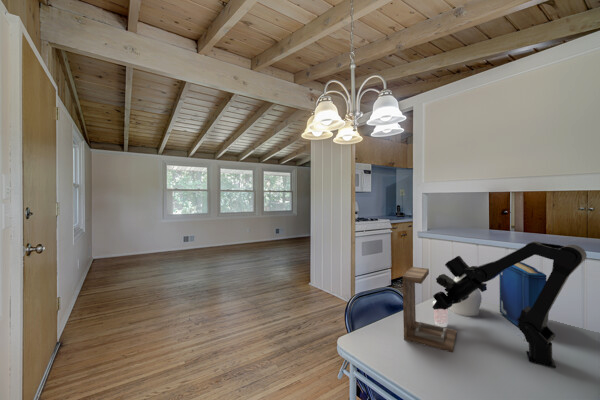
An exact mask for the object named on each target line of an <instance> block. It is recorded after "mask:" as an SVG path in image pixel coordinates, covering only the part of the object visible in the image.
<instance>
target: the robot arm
mask: <svg viewBox="0 0 600 400" xmlns="http://www.w3.org/2000/svg"><path fill="white" fill-rule="evenodd" d="M533 256H539V257H542V258H545V259H548V260H552V269H551V273H550V274H549V276H548V278H546V283H545V285H544V287H543V289H542V291H541V292H540V294H539V296H538V298H537V300H536V302H535V303H534V305H533V307H532V308H530V307H529V306H527V307H526V308H524V309H523V310H522V311H521V315H520V317H519V318H518V319H517V321H519V322H518V326H517V328H518V329H519V331H520V332H521V333H522V334H523V336H524V339H525V340H526V342H527V343H528V350H526V351H525V353H526V357H527V359H528V362H530V363H534V364H537V365H541V366H546V367H550V368H552V369H553V368H554V369H556V368H557V365H556V362H555V360H554V359H553V358H554V357H553V343H552V341H554V339H555V337H556V333H555V332H554V331H552V330H551V328H550V327H549V326H547V325H548V322H549V321H548V320H549V313H550V311H551V309H552V307H553V305H554V304H555V302H556V301H557V298H558V297H559V294H560V293H561V291H562V289H564V287H565V284H566V282H568V281H567V280H568V279H569V278H570V276H571V275H572V273H574V272H575V271H576V270H577V269H578V268H579V267H580V266H581V265H582V263H584V261H586V259H587V252H586V250H585V249H584V248H583V247H581V246H580V245H577V244H566V245H560V244H554V243H547V242H546V243H545V242H540V241H536V240H534V241H531V242H527V243H526V244H524V246H522V247H519V248H517V249H516V250H514V251H512V252H510V253H508V254H506V255H504V256H503V257H501V258H498V259H497V260H493V261H490V262H486V263H484V264H481V265H478V266H477V265H472V266H469V265H468V263H466V262H465V260H464V259H463V258H462V257H461V255H458V256H457V255H456V257H453V258H452V259H450V260H448V261H447V262H446V263H445V264H444V266H445V267H446V268H447V270H448V271H449V272H450V273H451V274H452V275H453V276H454V278H455V277H459V278H460V277H462V276H464V275H465V274H466V276H465V277H463V278H462V279H461V280H459V281H457V282H455V281H454V279H453V278H451V277H450V276H449V275H447V274H445V273H442V274H439V275H438V276H437V277H436V278H435V280H436V281H435V282H436V283H437V284H438V285H439V286H441V287H443V288H444V291H445V292H448V293H445V292H444V291H442V290H439V291H438V292H436V293H434V294H433V295H432V296H433V299H434V301H436V303H435V304H434V306H432V309H433V311H434V310H435V309H444V310H446V309H448V310H449V308H450V307H451V306H452V304H456V303H460V302H461V300H462V301H464V300H466V299H467V298H469V295H470V294H471V293H472V292H474V291H475V290H477V289H479V290H480V293H483V292H485V291H487V290H488V289H487V285H488V284H487V282H490V281H492V280H494V279H495V278H496V277H499V274H500V273H501V272H503V271H504V270H505V269H506V268H509V267H511V266H513V265H515V264H517V263H519V262H523V261H525V260H527V259H529V258H532V257H533Z"/></svg>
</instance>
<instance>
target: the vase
mask: <svg viewBox="0 0 600 400" xmlns="http://www.w3.org/2000/svg"><path fill="white" fill-rule="evenodd" d="M465 276H466V274H465V275H464V276H462V277H460V278H459V277H455V276H454V279H453V280H454V281H455V282H457V281H459V280H461V279H462V278H463V277H465ZM445 292H446V291H445ZM446 293H448V292H446ZM446 293H445V294H446ZM482 299H483V298H482V292H481V291H480V289H479V288H478V289H477V290H475V291H474V292H472V293H471V294H470V295H469V298H467V299H466V300H464V301H462V300H461V302H460V303H456V304H452V306H451V307H450V308H448V311H449V310H450V312H452V313H454V314H457V315H460V316H466V317H477V316H478V315H479V314H480V308H481V304H482Z"/></svg>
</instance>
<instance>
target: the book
mask: <svg viewBox="0 0 600 400" xmlns="http://www.w3.org/2000/svg"><path fill="white" fill-rule="evenodd" d="M498 277H499V312H500V314H501V315H502V316H503V317H505V318H506V319H507V320H508V321H509V322H511V323H512V324H514V325H515V326H517V327H518V322H519V321H517V319H518V318H519V317H520V315H521V311H522V310H523V309H524V308H526V307H527V306H529V307H530V308H532V307H533V305H534V303H535V302H536V300H537V298H538V296H539V294H540V292H541V291H542V289H543V287H544V285H545V283H546V281H547V275H546V274H545V273H544V272H542V271H539V270H538V269H537V268H536V267H534V266H532V265H529V264H526V263H525V262H523V261H521V262H519V263H517V264H515V265H513V266H511V267H509V268H506V269H505V270H504V271H503V272H501V273H500V274H499V275H498Z"/></svg>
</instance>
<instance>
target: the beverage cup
mask: <svg viewBox="0 0 600 400" xmlns="http://www.w3.org/2000/svg"><path fill="white" fill-rule="evenodd" d="M435 303H436V300H433V301H432V305H433V306H434V304H435ZM433 306H432V307H433ZM448 312H449V308H448V309H446V310H444V309H435V310H434V309H433V315H434V317H433V318H434V324H435V325H436V326H440V327H445V328H447V326H448V316H449V315H448V314H449V313H448Z"/></svg>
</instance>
